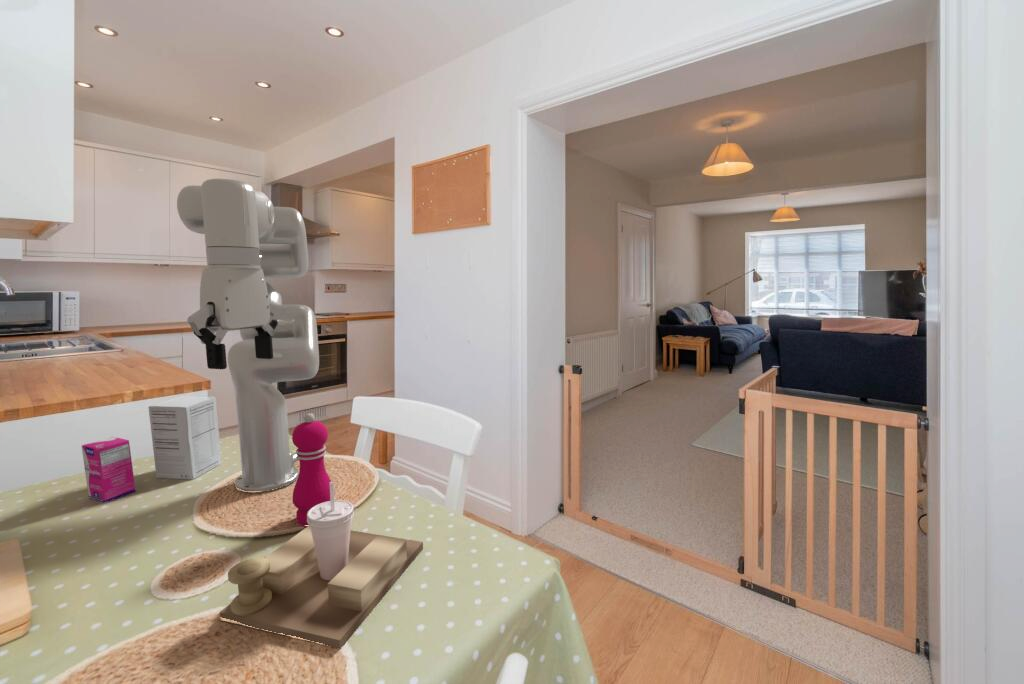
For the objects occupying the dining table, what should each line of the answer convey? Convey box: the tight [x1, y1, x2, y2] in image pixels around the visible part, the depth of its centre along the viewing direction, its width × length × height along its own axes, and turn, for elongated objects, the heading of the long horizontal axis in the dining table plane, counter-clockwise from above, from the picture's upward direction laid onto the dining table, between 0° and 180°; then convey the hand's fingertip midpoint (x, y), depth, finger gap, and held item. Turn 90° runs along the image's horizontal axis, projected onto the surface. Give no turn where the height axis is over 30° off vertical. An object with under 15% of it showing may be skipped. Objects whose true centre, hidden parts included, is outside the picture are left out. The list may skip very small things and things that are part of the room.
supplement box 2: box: [147, 395, 223, 481], centre depth 108 cm, size 10×9×17 cm
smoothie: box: [307, 481, 355, 580], centre depth 68 cm, size 6×6×14 cm
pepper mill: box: [291, 413, 336, 526], centre depth 86 cm, size 7×7×20 cm
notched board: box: [219, 525, 424, 650], centre depth 68 cm, size 22×18×6 cm
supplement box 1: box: [81, 436, 136, 503], centre depth 96 cm, size 6×6×12 cm
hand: (242, 363), depth 78 cm, fingers open, 9 cm apart
